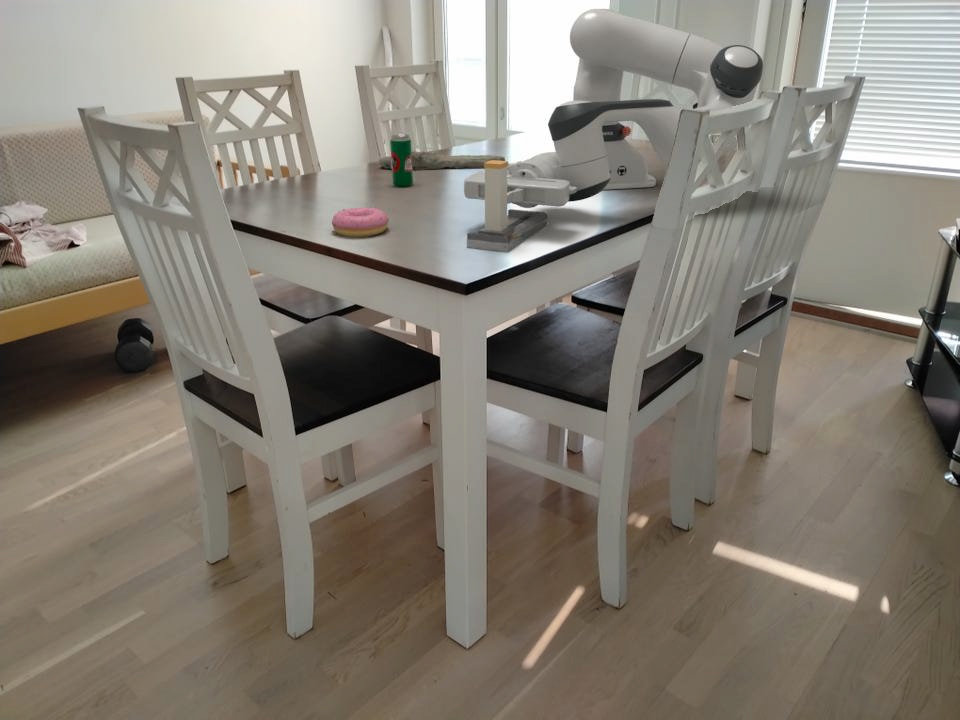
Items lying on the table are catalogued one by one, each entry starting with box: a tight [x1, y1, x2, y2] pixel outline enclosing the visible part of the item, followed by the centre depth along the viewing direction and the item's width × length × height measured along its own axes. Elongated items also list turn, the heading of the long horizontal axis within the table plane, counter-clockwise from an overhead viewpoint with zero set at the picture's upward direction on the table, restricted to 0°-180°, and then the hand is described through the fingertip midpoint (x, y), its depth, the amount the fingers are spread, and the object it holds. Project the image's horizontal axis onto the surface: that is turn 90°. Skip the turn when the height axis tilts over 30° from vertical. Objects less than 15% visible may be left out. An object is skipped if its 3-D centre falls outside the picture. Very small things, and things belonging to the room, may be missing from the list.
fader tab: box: [477, 160, 514, 236], centre depth 130 cm, size 5×5×13 cm
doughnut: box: [331, 207, 390, 238], centre depth 142 cm, size 11×11×4 cm
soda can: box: [389, 133, 414, 188], centre depth 179 cm, size 5×5×12 cm
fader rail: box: [466, 208, 548, 253], centre depth 138 cm, size 20×8×2 cm, turn 155°
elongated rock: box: [378, 150, 506, 171], centre depth 203 cm, size 35×5×10 cm
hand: (501, 198), depth 132 cm, fingers closed
